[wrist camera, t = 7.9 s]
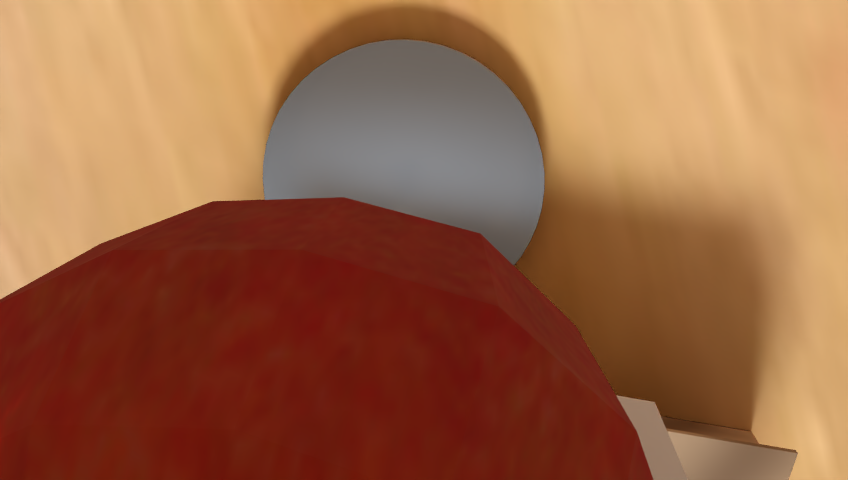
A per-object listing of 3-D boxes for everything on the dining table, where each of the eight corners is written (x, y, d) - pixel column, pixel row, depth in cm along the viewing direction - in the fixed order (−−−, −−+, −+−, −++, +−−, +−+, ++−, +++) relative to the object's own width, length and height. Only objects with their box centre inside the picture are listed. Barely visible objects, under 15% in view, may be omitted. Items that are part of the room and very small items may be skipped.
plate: (256, 282, 34) (250, 291, 33) (283, 16, 31) (277, 17, 30) (513, 326, 34) (514, 336, 33) (568, 64, 31) (571, 66, 30)
